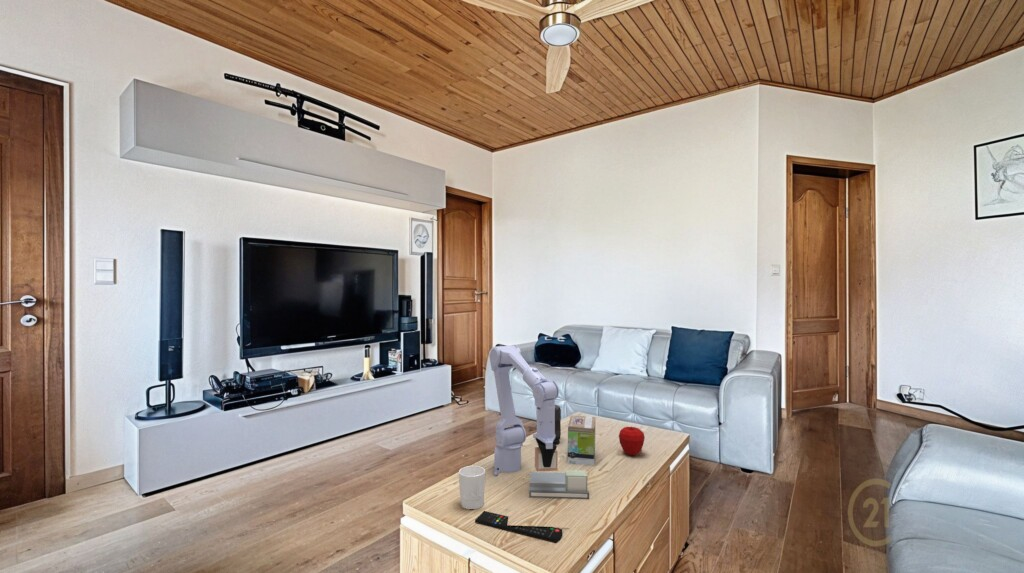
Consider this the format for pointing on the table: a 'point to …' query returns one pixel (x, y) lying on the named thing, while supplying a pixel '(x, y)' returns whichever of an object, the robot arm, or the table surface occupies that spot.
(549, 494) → the shelf board
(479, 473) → the white cup
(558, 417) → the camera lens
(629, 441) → the apple
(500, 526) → the remote control
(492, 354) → the robot arm
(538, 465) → the terracotta carton
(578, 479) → the sage carton
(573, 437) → the tea box
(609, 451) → the table surface
